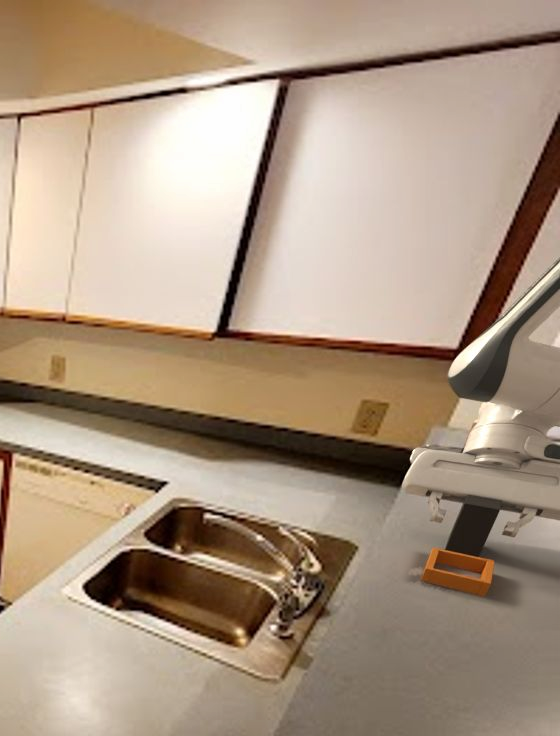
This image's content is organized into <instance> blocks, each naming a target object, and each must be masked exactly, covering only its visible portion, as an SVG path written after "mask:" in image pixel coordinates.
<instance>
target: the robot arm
mask: <svg viewBox="0 0 560 736" xmlns="http://www.w3.org/2000/svg"><path fill="white" fill-rule="evenodd" d="M559 308H560V257H558V258H557V259H556V260H555V261H554V262H553V263H552V264H551V265H550V266H549V267H548V268H547V269H546V270H545V271H544V272H543V273H542V274H541V275H540V276H539V277H538V278H537V279H536V280H535V281H534V282H533V283H532V284H531V285H530V286H529V287H528V288H527V289H526V290H525V291H524V292H523V293H522V294H521V295H520V296H519V297H518V298H517V299H516V300H515V301H514V302H513V303H512V304H511V305H510V307H508V309H506V310H505V312H503V313H502V315H500V316H499V318H497V319H496V320H495V321H494V322H493V323H492V324H491V325H490V326H489V327H488V328H487V329H486V330H484V331H483V332H482V333H481V334H479V336H477V337H476V338H475V339H474V340H473V341H472V342H471V343H470V344H469V345H468V346H466V347H465V348H464V349H463V350H462V351H461V352H460V353H459V354H458V355H457V356H456V358H454V360H453V362H452V363H451V365H450V367H449V369H448V371H447V373H446V378H447V382H448V384H449V387H450V389H451V390H452V391H453V393H454V394H455V396H456V397H458V399H464V400H468V401H474V402H480V403H481V404H480V407H479V409H478V413H477V419H478V422H477V424H476V425H475V426H474V427H473V429H472V430H471V429H470V430H471V432H470V431H469V432H470V434H469V433H468V435H469V436H468V435H467V437H468V439H467V438H466V439H467V441H466V440H465V442H466V444H465V443H464V444H465V447H464V446H463V447H464V448H463V447H459V446H450V445H449V446H448V445H439V444H436V443H427V445H420V446H418V447H416V448H415V449H413V451H412V452H411V455H410V457H409V462H410V464H411V465H410V467H409V469H408V470H407V472H406V474H405V476H404V478H403V480H402V483H401V489H402V490H403V492H404V493H405V494H408V495H414V496H419V497H426V498H428V501H427V504H428V506H429V508H430V511H431V513H432V514H431V517H430V519H429V522H435V523H438V524H442V523H443V520H444V518H445V515H446V513H447V509H443V508H441V507H440V503H441V500H443V501H447V502H453V503H458V504H463V503H464V500H465V498H466V496H467V495H473V496H479V497H485V498H491V499H497V500H502V502H501V508H500V511H503V512H509V513H515V514H519V516H518V520H517V521H515V522H513V521H507V522H506V524H505V525H504V526H503V531H502V532H501V536H506V537H510V538H516V536H517V535H518V533H519V531H520V529H521V528H523V527H524V526H526V525H528V524H529V523H531V522H532V521H533V519H534V518H535V517H537V518H543V519H547V520H548V519H549V520H555V521H560V443H557V442H554V441H551V440H549V439H547V437H548V436H547V435H548V432H549V431H550V430H552V428H554V427H557V428H559V427H560V347H559V346H556V345H555V346H554V345H550V344H546V343H541V342H538V341H533V340H532V339H530V336H531V335H532V334H533V333H534V332H535V331H536V330H537V329H538V328H539V327H540V326H542V324H543V323H545V321H546V320H548V319H549V318H550V316H552V315H553V314H554V313H555V312H556V311H557V310H558V309H559Z"/></svg>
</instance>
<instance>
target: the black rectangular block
mask: <svg viewBox="0 0 560 736" xmlns="http://www.w3.org/2000/svg"><path fill="white" fill-rule="evenodd" d="M501 502H502V500H497V499H491V498H485V497H479V496H473V495H467V496H466V498H465V500H464V503H462V505H461V507H460V510H459V512H458V515H457V516H456V519H455V521H454V524H453V526H452V528H451V531H450V533H449V536H448V538H447V542H446V545H445V548H444V550H447V551H452V552H456V553H461V554H466V555H470V556H475V557H479V558H480V555H481V553H482V552H483V549H484V547H485V545H486V543H487V540H488V537H489V535H490V534H491V531H492V529H493V527H494V525H495V522H496V520H497V518H498V516H499V514H500V511H501V510H500V508H501Z"/></svg>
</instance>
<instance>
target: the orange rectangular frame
mask: <svg viewBox="0 0 560 736" xmlns="http://www.w3.org/2000/svg"><path fill="white" fill-rule="evenodd" d="M495 563H496V561H495V560H493V559H489V558H488V559H487V558H484V557H480V556H479V557H475V556H470V555H466V554H461V553H456V552H452V551H447V550H445V549H442V548H437V547H432V549H431V551H430V554H429V557H428V558H427V561H426V564H425V567H424V570H423V572H422V575H421V579H420V582H425V583H429V584H433V585H437V586H441V587H445V588H449V589H453V590H457V591H461V592H465V593H470V594H474V595H478V596H482V597H486V595H487V593H488V591H489V588H490V587H491V585H492V579H493V575H494V570H495V569H494V568H495ZM436 564H439V565H445V566H448V567H449V566H450V567H454V568H458V569H462V570H467V571H472V572H475V573H479V574H481V575H480V578H477V577H473V576H469V575H463V574H459V573H456V572H451V571H447V570H443V569H438V568H435V565H436Z"/></svg>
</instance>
